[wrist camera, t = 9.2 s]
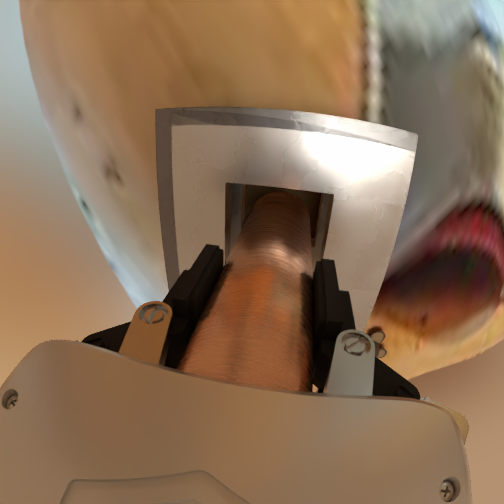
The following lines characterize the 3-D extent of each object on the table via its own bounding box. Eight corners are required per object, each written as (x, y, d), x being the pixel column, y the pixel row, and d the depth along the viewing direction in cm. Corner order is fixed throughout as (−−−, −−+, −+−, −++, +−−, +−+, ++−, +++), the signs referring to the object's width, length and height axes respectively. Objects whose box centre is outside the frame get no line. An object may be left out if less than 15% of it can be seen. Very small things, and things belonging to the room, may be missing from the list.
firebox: (202, 107, 20) (155, 109, 13) (378, 124, 18) (418, 134, 11) (203, 257, 27) (172, 310, 20) (349, 276, 25) (361, 337, 18)
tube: (250, 188, 18) (89, 475, 3) (314, 195, 17) (325, 531, 2) (247, 244, 20) (147, 507, 5) (306, 251, 19) (285, 535, 4)
